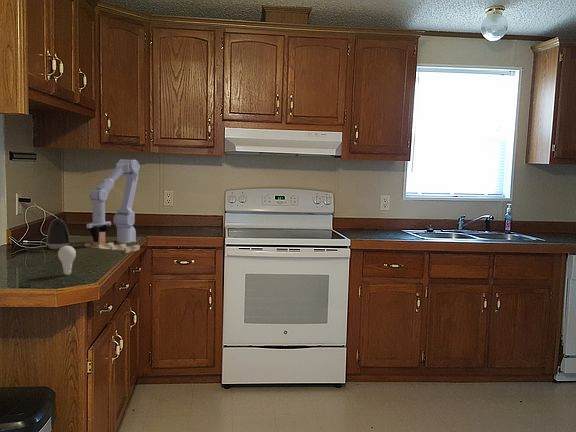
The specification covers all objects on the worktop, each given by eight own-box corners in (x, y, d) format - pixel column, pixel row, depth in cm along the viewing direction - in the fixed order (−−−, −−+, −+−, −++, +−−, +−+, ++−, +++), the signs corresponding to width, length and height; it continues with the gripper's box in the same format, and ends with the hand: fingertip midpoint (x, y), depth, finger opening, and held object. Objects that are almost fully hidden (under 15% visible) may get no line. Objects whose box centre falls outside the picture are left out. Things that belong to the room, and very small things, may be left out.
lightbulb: (75, 272, 191) (74, 244, 190) (77, 276, 186) (76, 246, 185) (57, 274, 189) (57, 245, 188) (59, 277, 183) (58, 247, 182)
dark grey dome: (46, 252, 235) (45, 219, 234) (47, 248, 245) (46, 217, 243) (69, 251, 239) (69, 219, 238) (70, 247, 249) (69, 217, 247)
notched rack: (99, 246, 255) (99, 241, 255) (139, 249, 246) (139, 244, 246) (84, 248, 246) (84, 243, 246) (125, 252, 237) (125, 247, 236)
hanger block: (99, 245, 252) (98, 231, 251) (105, 245, 250) (105, 231, 249) (93, 246, 248) (93, 232, 247) (99, 246, 246) (99, 232, 246)
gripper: (103, 212, 256) (103, 238, 257) (81, 214, 242) (81, 242, 244) (114, 213, 253) (114, 239, 254) (92, 215, 240) (93, 243, 241)
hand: (99, 241), depth 249 cm, fingers closed on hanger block, 4 cm apart
